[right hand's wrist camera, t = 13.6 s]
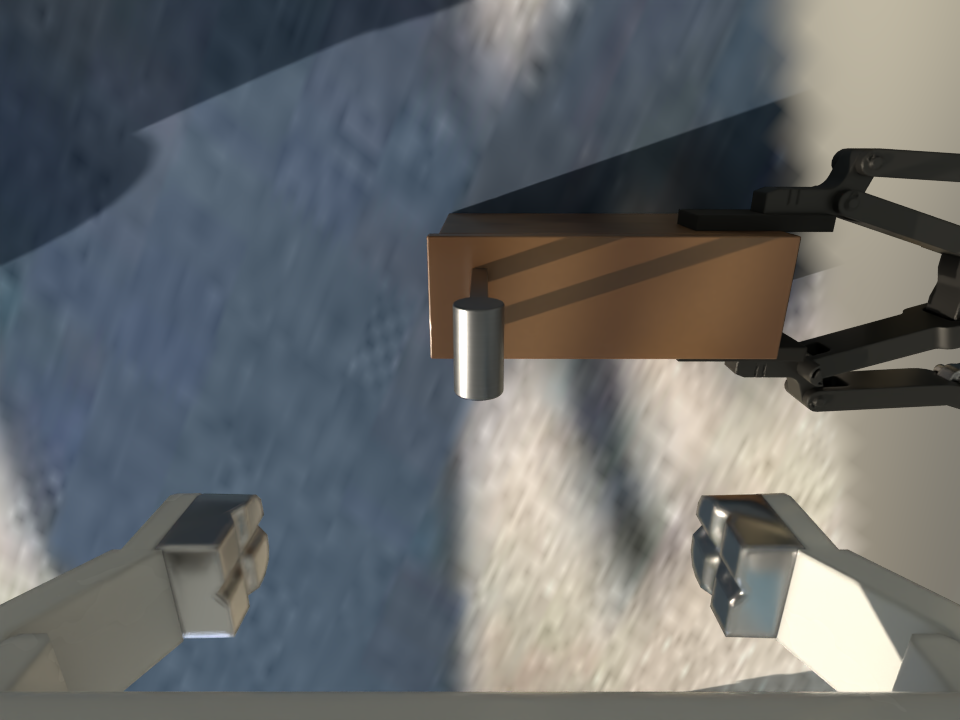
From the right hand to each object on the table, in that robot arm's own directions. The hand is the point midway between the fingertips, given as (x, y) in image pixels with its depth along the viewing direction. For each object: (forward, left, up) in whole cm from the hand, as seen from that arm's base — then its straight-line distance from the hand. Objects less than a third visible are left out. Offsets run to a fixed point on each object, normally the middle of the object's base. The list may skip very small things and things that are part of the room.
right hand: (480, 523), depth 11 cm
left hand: (+3, +10, -20) cm, 22 cm away
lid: (+2, +6, -18) cm, 18 cm away
